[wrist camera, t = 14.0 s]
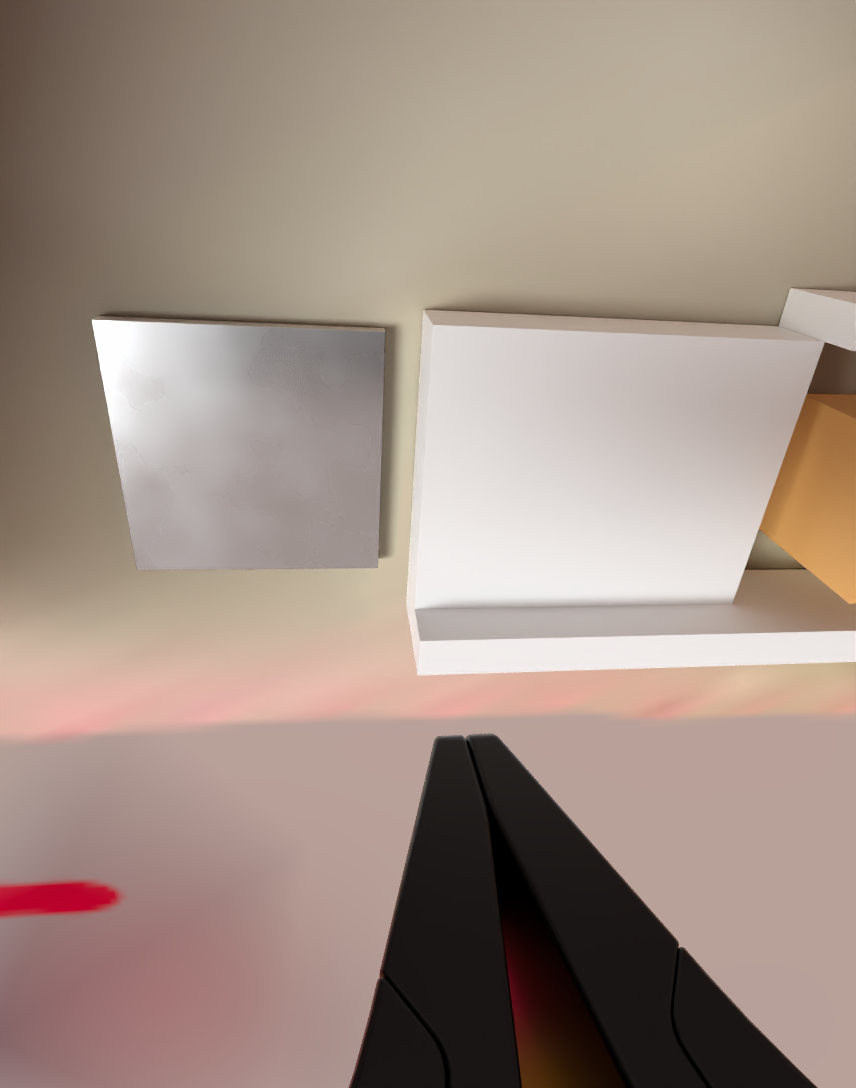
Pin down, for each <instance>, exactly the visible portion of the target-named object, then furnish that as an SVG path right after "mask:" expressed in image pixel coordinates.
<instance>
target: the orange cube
mask: <svg viewBox="0 0 856 1088" xmlns="http://www.w3.org/2000/svg"><path fill="white" fill-rule="evenodd" d="M759 530H760V531H762V532H763V533H764V534H765V535H767V536H768V537H769V538H770V539H771V540H773V541H774V542H775V543H776V544H777V545H779V546H780V547H781V548H782V549H783V550H785V551H786V552H787V553H788V554H789V555H791V556H792V557H793V558H794V559H796V560H797V561H798V562H799V563H800V564H802V565H803V566H804V567H805V568H806V569H808V570H809V571H810V572H811V573H812V574H814V575H815V576H816V577H817V578H818V579H820V580H821V581H822V582H823V583H824V584H826V585H827V586H828V587H829V588H831V589H832V590H833V591H834V592H835V593H837V594H838V595H839V596H840V597H841V598H843V599H844V600H845V601H846V602H847V603H849V604H856V394H806V397H805V400H804V403H803V406H802V408H801V411H800V414H799V417H798V420H797V422H796V425H795V428H794V431H793V434H792V437H791V439H790V442H789V445H788V448H787V451H786V454H785V456H784V459H783V462H782V465H781V468H780V471H779V473H778V476H777V479H776V482H775V485H774V487H773V490H772V493H771V496H770V499H769V502H768V504H767V507H766V510H765V513H764V516H763V519H762V521H761V524H760V527H759Z"/></svg>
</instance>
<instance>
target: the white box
mask: <svg viewBox="0 0 856 1088" xmlns="http://www.w3.org/2000/svg"><path fill="white" fill-rule="evenodd" d="M825 342H827V343H830V344H833V345H836V346H839V347H842V348H845V349H848V350H851V351H856V292H852V291H834V290H816V289H798V288H790V291H789V294H788V297H787V301H786V304H785V307H784V310H783V313H782V316H781V320H780V323H779V326H764V325H743V324H721V323H700V322H678V321H657V320H636V319H614V318H593V317H571V316H550V315H529V314H507V313H486V312H464V311H443V310H423V324H422V341H421V358H420V375H419V393H418V410H417V427H416V445H415V462H414V479H413V497H412V514H411V531H410V549H409V566H408V583H407V601H406V605H407V612H408V618H409V624H410V630H411V637H412V643H413V649H414V655H415V662H416V668H417V674H418V675H443V674H475V673H508V672H540V671H572V670H604V669H637V668H669V667H701V666H733V665H765V664H798V663H830V662H856V604H849V603H847V602H846V601H845V600H844V599H843V598H841V597H840V596H839V595H838V594H837V593H835V592H834V591H833V590H832V589H831V588H829V587H828V586H827V585H826V584H824V583H823V582H822V581H821V580H820V579H818V578H817V577H816V576H815V575H814V574H812V573H811V572H810V571H809V570H808V569H784V570H744V569H745V567H746V564H747V561H748V558H749V555H750V552H751V550H752V547H753V544H754V541H755V538H756V535H757V533H758V530H759V527H760V524H761V521H762V519H763V516H764V513H765V510H766V507H767V504H768V502H769V499H770V496H771V493H772V490H773V487H774V485H775V482H776V479H777V476H778V473H779V471H780V468H781V465H782V462H783V459H784V456H785V454H786V451H787V448H788V445H789V442H790V439H791V437H792V434H793V431H794V428H795V425H796V422H797V420H798V417H799V414H800V411H801V408H802V406H803V403H804V400H805V397H806V394H807V391H808V389H809V386H810V383H811V380H812V377H813V374H814V372H815V369H816V366H817V363H818V360H819V358H820V355H821V352H822V349H823V346H824V343H825Z"/></svg>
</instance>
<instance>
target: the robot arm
mask: <svg viewBox="0 0 856 1088" xmlns="http://www.w3.org/2000/svg"><path fill="white" fill-rule="evenodd" d="M678 946H679V943H678V941H677V940H676V938H675V937H674V936H673V935H672V934H671V933H670V931H669V930H668V929H667V928H666V927H665V926H664V925H663V923H662V922H661V921H660V920H659V919H658V918H657V917H656V916H655V914H654V913H653V912H652V911H651V910H650V909H649V908H648V907H647V905H646V904H645V903H644V902H643V901H642V900H641V898H640V897H639V896H638V895H637V894H636V893H635V892H634V890H633V889H631V887H630V886H629V885H628V884H627V883H626V882H625V880H624V879H623V878H622V877H621V876H620V875H619V874H618V872H617V871H616V870H615V869H614V868H613V867H612V866H611V864H610V863H609V862H608V861H607V860H606V859H605V858H604V856H603V855H602V854H601V853H600V852H599V851H598V850H597V848H596V847H595V846H594V845H593V844H592V843H591V842H590V840H589V839H588V838H587V837H586V836H585V835H584V834H583V833H582V831H581V830H580V829H579V828H578V827H577V826H576V825H575V823H574V822H573V821H572V820H571V819H570V818H569V817H568V815H567V814H566V813H565V812H564V811H563V810H562V809H561V808H560V806H559V805H558V804H557V803H556V802H555V801H554V800H553V798H552V797H551V796H550V795H549V794H548V793H547V792H546V790H544V788H543V787H542V786H541V785H540V784H539V783H538V781H537V780H536V779H535V778H534V777H533V776H532V775H531V773H529V771H528V770H527V769H526V768H525V767H524V765H523V764H522V763H521V762H520V761H519V760H518V759H517V758H516V756H515V755H514V754H513V753H512V752H511V751H510V750H509V749H508V747H507V746H506V745H505V744H504V743H503V742H502V740H500V738H499V737H498V736H496V735H495V734H472V735H468V736H467V737H466V739H465V738H464V737H463V736H462V735H453V736H438V737H437V738H436V739H435V741H434V744H433V748H432V752H431V757H430V761H429V766H428V770H427V774H426V779H425V782H424V786H423V791H422V795H421V799H420V803H419V808H418V812H417V816H416V821H415V825H414V829H413V833H412V837H411V842H410V846H409V850H408V854H407V859H406V863H405V868H404V871H403V876H402V880H401V884H400V888H399V893H398V897H397V901H396V905H395V910H394V914H393V918H392V922H391V927H390V931H389V935H388V940H387V944H386V948H385V952H384V956H383V961H382V965H381V969H380V978H379V979H378V981H377V984H376V989H375V993H374V997H373V1001H372V1006H371V1010H370V1014H369V1018H368V1022H367V1026H366V1029H365V1033H364V1037H363V1040H362V1044H361V1048H360V1052H359V1055H358V1059H357V1063H356V1066H355V1070H354V1073H353V1076H352V1079H351V1082H350V1085H349V1088H817V1087H816V1086H815V1085H814V1084H813V1083H812V1082H811V1081H810V1080H809V1079H808V1078H807V1077H806V1076H805V1075H804V1074H803V1073H802V1072H801V1071H800V1070H799V1069H798V1068H797V1067H796V1066H795V1065H794V1064H793V1063H792V1062H791V1061H790V1060H789V1059H788V1058H787V1057H786V1056H785V1055H784V1054H783V1053H782V1052H781V1051H780V1050H779V1049H778V1048H777V1047H776V1046H775V1045H774V1044H773V1043H772V1042H771V1041H770V1040H769V1039H768V1038H767V1037H766V1036H765V1035H764V1034H763V1033H762V1032H761V1031H760V1030H759V1029H758V1028H757V1027H756V1026H755V1025H754V1024H753V1023H752V1022H751V1021H750V1020H749V1019H748V1018H747V1017H746V1016H745V1015H744V1014H743V1012H742V1011H741V1010H740V1009H739V1008H738V1007H737V1006H736V1005H735V1004H734V1003H733V1002H732V1001H731V999H730V998H729V997H728V996H727V995H726V994H725V993H724V992H723V991H722V990H721V989H720V987H718V985H717V984H716V983H715V982H714V981H713V980H712V979H711V978H710V977H709V975H708V974H707V973H706V972H705V971H704V970H703V969H702V967H701V966H700V965H699V964H698V963H697V962H696V961H695V960H694V958H693V957H692V956H691V955H690V954H689V953H688V951H687V950H686V949H685V948H683V947H680V948H679V949H678Z"/></svg>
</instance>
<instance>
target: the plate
mask: <svg viewBox="0 0 856 1088" xmlns="http://www.w3.org/2000/svg"><path fill="white" fill-rule="evenodd" d="M92 325H93V330H94V336H95V341H96V347H97V352H98V358H99V363H100V369H101V374H102V380H103V385H104V391H105V396H106V402H107V407H108V413H109V418H110V424H111V429H112V435H113V440H114V446H115V451H116V457H117V462H118V468H119V473H120V479H121V484H122V490H123V495H124V501H125V506H126V512H127V517H128V523H129V529H130V534H131V540H132V545H133V551H134V556H135V562H136V567H137V570H199V569H321V568H378V548H379V516H380V484H381V451H382V419H383V386H384V354H385V330H384V328H373V327H349V326H326V325H302V324H279V323H255V322H232V321H208V320H185V319H161V318H137V317H114V316H97V317H95V318H94V319H92Z"/></svg>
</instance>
